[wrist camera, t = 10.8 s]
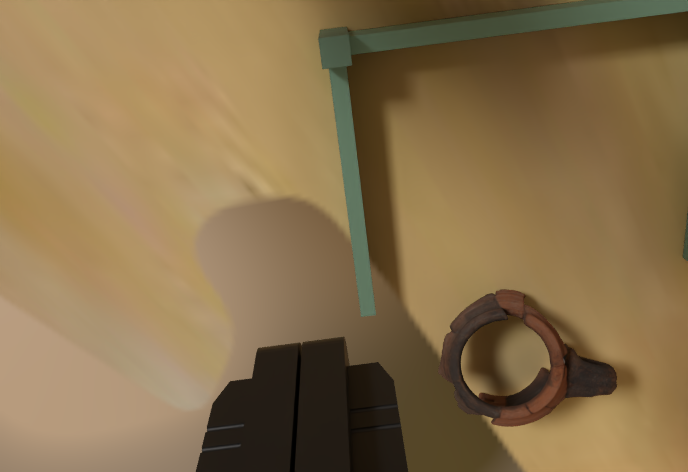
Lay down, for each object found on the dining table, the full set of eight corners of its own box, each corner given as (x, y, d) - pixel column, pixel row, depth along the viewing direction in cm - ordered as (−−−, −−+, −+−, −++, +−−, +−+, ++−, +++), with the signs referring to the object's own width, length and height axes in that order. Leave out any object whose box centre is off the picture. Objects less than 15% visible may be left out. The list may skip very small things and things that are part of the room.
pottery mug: (440, 406, 48) (434, 432, 40) (443, 285, 49) (438, 288, 41) (603, 418, 46) (631, 449, 38) (604, 291, 46) (632, 295, 38)
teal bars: (320, 29, 37) (318, 38, 32) (734, -25, 36) (793, -24, 32) (355, 295, 44) (357, 333, 40) (701, 255, 43) (745, 288, 39)
